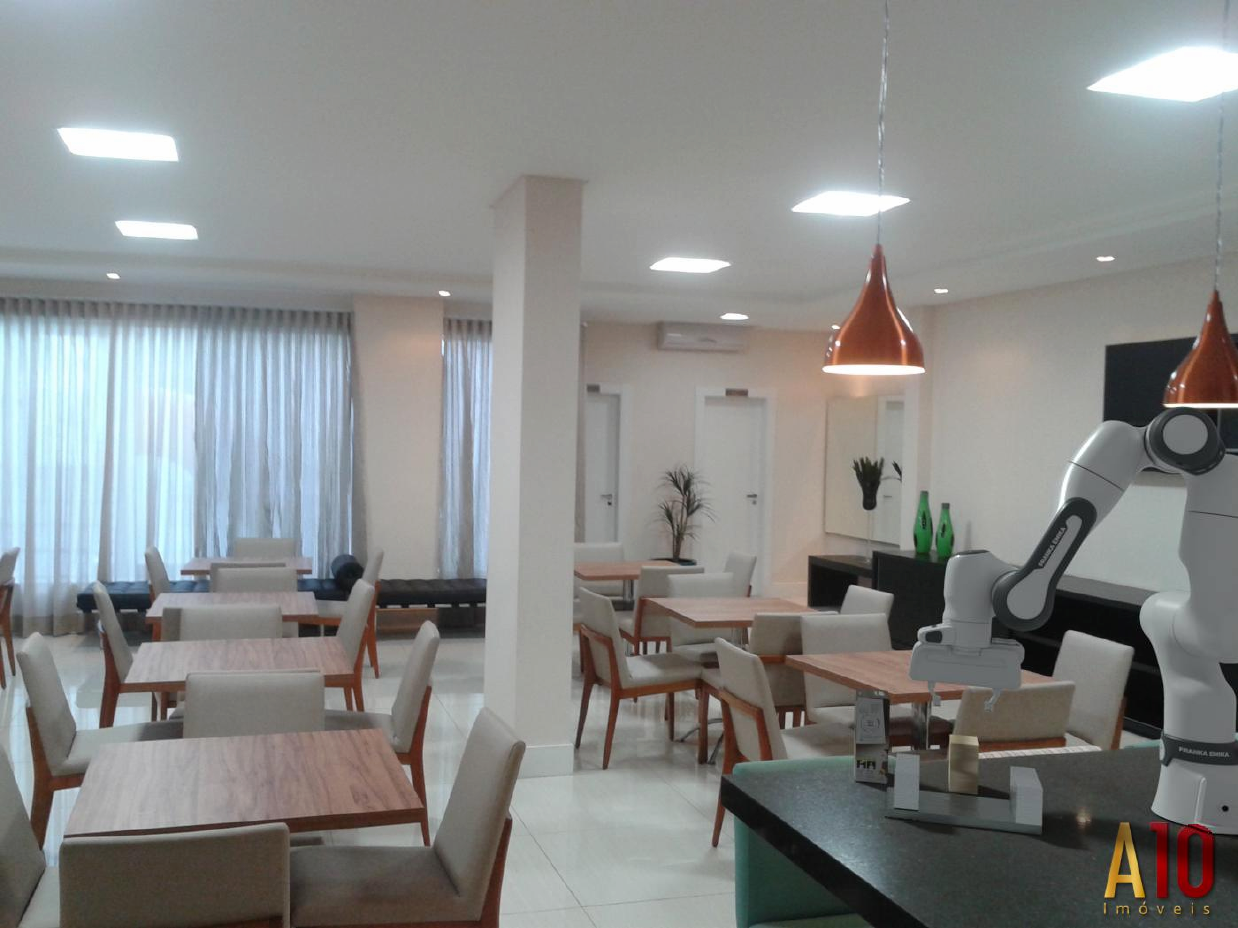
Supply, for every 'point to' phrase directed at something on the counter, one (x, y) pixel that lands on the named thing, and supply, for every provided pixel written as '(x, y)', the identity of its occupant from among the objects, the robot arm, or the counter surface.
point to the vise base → (981, 806)
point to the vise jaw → (906, 781)
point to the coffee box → (871, 735)
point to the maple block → (963, 764)
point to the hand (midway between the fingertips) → (962, 708)
